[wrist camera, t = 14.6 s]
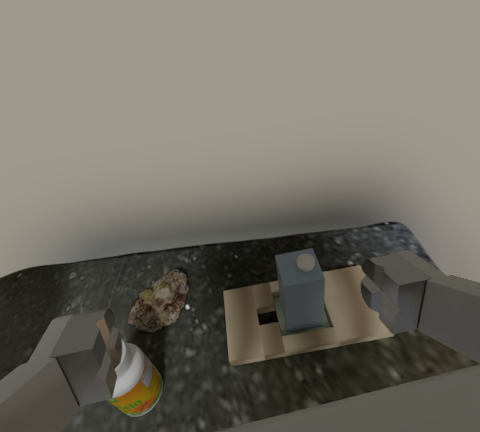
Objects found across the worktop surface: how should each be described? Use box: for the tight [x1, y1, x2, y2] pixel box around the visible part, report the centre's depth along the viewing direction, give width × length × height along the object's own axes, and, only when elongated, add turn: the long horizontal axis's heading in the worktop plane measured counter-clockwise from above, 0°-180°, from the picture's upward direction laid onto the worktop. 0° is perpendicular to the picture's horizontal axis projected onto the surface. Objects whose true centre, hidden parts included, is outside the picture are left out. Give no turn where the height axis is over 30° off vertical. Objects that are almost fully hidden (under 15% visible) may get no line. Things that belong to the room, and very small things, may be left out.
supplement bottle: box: [107, 340, 163, 417], centre depth 32 cm, size 5×5×10 cm
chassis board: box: [223, 265, 394, 366], centre depth 39 cm, size 20×10×2 cm, turn 97°
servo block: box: [275, 248, 325, 333], centre depth 36 cm, size 4×4×11 cm
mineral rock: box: [128, 270, 189, 333], centre depth 44 cm, size 11×4×8 cm
